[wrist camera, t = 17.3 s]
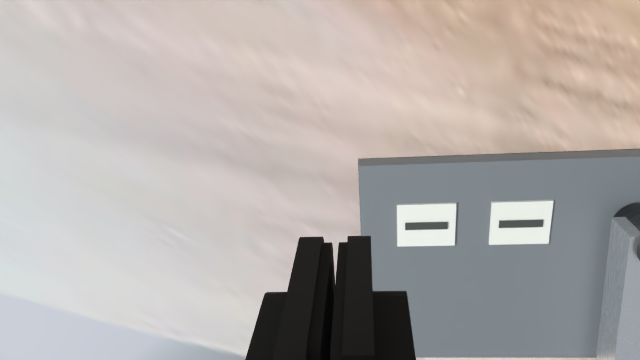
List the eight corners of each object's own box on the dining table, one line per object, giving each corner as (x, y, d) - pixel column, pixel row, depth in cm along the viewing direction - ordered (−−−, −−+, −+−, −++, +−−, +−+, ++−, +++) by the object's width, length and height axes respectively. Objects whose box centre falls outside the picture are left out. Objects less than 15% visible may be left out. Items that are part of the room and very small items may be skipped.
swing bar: (606, 205, 38) (635, 234, 34) (665, 201, 37) (701, 230, 33) (583, 422, 46) (604, 467, 42) (630, 421, 46) (656, 466, 42)
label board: (661, 148, 38) (675, 156, 36) (622, 345, 45) (632, 360, 43) (358, 158, 40) (358, 167, 38) (365, 345, 47) (365, 359, 45)
